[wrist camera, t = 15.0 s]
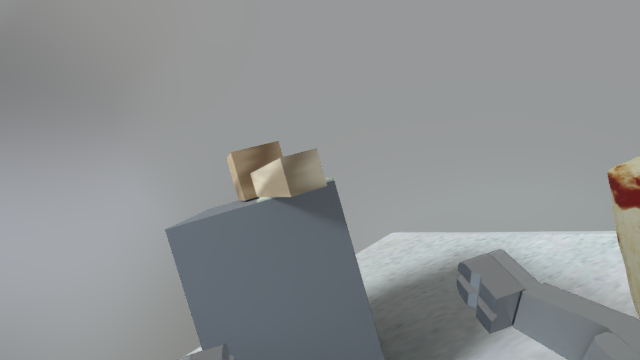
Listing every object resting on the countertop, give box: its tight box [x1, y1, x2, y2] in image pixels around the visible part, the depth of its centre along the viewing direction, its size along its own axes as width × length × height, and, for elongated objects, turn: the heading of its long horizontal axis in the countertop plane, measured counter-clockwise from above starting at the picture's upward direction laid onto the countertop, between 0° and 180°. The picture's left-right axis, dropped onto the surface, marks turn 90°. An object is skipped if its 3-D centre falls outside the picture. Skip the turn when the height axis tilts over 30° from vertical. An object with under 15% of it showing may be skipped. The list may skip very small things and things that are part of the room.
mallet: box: [227, 141, 327, 201], centre depth 35 cm, size 6×23×6 cm, turn 21°
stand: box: [165, 178, 385, 360], centre depth 41 cm, size 17×18×25 cm
